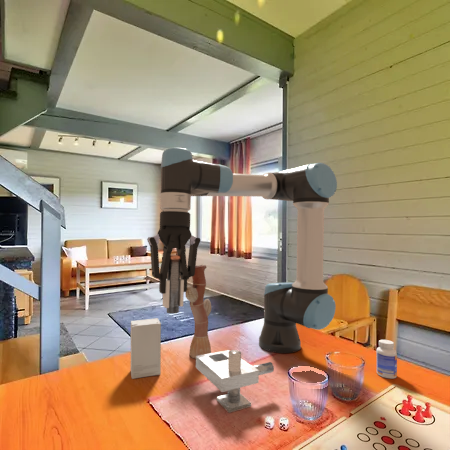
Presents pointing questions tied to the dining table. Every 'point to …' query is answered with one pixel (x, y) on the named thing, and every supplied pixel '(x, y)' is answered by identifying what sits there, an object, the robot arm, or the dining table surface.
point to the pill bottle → (386, 359)
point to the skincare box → (145, 348)
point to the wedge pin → (174, 283)
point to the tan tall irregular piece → (199, 313)
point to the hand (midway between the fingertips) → (172, 305)
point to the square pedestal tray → (231, 376)
